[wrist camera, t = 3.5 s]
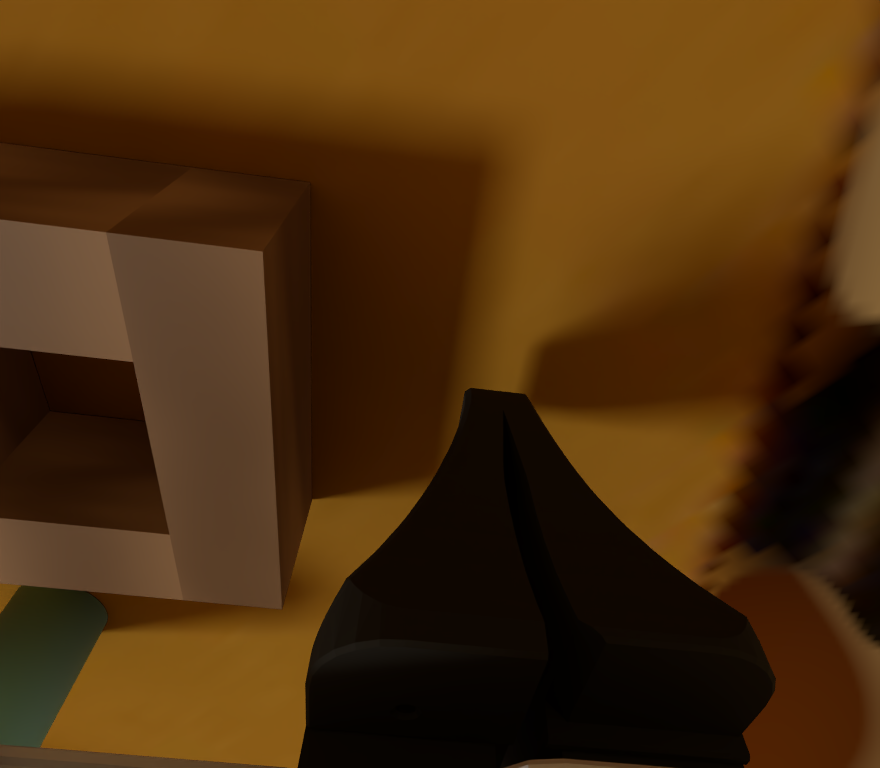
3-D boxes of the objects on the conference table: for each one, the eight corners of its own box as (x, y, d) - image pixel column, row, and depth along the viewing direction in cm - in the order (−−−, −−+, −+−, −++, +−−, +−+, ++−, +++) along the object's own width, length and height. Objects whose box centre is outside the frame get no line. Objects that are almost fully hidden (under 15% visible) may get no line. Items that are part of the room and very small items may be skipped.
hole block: (310, 182, 12) (262, 251, 9) (311, 500, 17) (281, 609, 14) (-164, 121, 11) (-375, 173, 8) (-15, 467, 16) (-114, 572, 14)
